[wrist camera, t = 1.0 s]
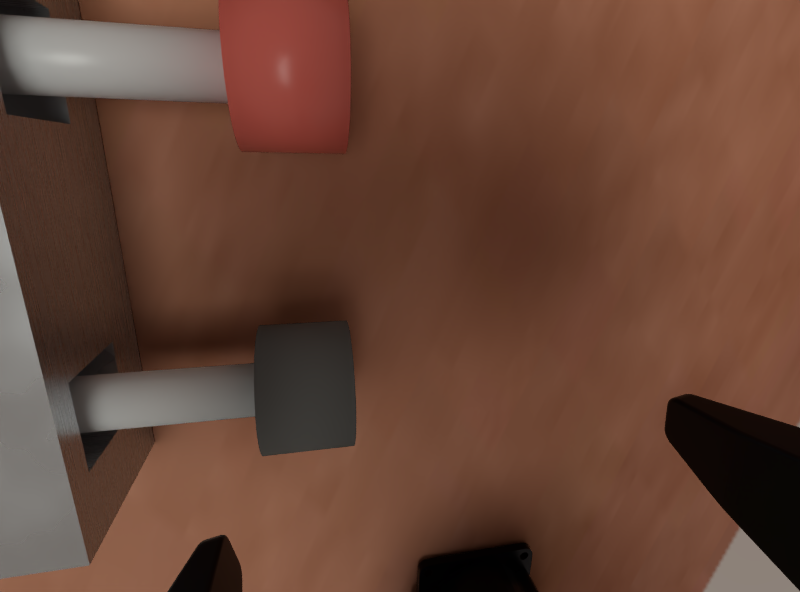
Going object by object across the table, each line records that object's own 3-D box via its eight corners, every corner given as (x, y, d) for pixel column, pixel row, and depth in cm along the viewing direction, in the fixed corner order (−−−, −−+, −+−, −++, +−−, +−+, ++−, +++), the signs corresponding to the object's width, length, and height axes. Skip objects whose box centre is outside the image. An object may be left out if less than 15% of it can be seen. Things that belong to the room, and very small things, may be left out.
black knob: (342, 304, 17) (355, 350, 13) (345, 403, 18) (356, 473, 14) (-15, 322, 15) (-140, 384, 11) (16, 434, 16) (-83, 529, 12)
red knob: (336, 12, 14) (349, -48, 10) (339, 154, 15) (352, 152, 11) (-113, -26, 12) (-336, -126, 8) (-64, 146, 13) (-234, 140, 9)
